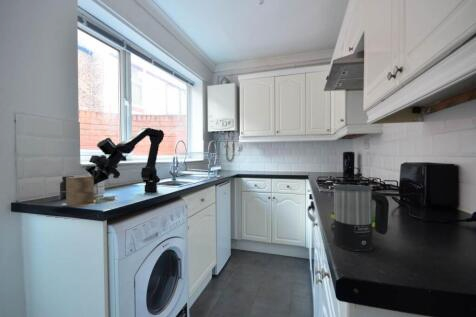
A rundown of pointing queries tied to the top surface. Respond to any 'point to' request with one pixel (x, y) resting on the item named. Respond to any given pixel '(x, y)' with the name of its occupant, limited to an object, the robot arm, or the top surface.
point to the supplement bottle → (63, 187)
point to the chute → (99, 200)
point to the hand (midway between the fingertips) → (90, 185)
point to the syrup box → (98, 187)
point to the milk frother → (357, 216)
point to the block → (79, 190)
